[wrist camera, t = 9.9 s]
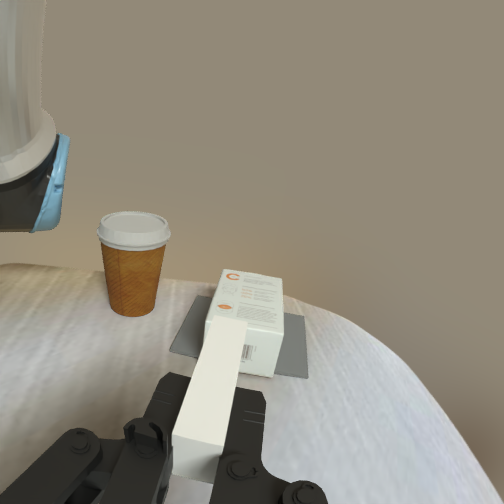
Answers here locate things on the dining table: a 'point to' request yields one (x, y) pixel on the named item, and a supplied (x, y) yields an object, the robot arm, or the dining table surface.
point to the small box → (252, 317)
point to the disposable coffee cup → (133, 259)
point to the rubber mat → (291, 349)
